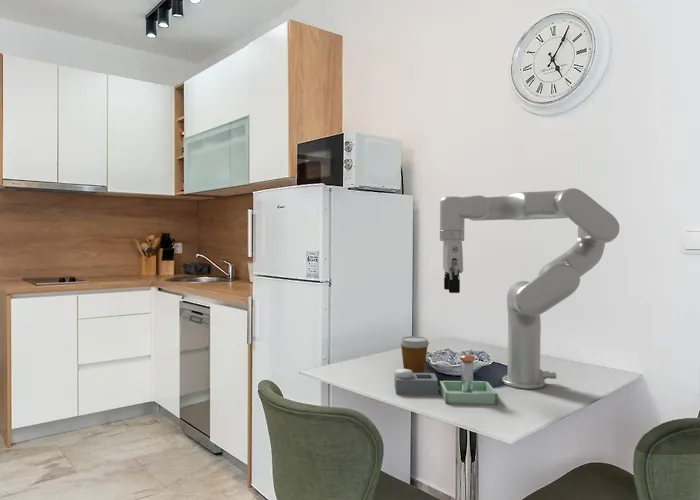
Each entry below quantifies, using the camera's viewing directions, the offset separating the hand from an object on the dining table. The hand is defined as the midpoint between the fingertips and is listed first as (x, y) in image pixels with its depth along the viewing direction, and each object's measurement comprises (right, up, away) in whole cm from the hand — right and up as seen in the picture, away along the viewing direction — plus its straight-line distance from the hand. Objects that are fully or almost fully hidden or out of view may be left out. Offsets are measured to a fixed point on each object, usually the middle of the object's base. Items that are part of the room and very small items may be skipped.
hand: (451, 291), depth 160 cm
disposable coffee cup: (-11, -28, +7) cm, 31 cm away
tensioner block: (-12, -29, -9) cm, 32 cm away
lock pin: (+1, -28, -15) cm, 32 cm away
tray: (+1, -29, -15) cm, 33 cm away
